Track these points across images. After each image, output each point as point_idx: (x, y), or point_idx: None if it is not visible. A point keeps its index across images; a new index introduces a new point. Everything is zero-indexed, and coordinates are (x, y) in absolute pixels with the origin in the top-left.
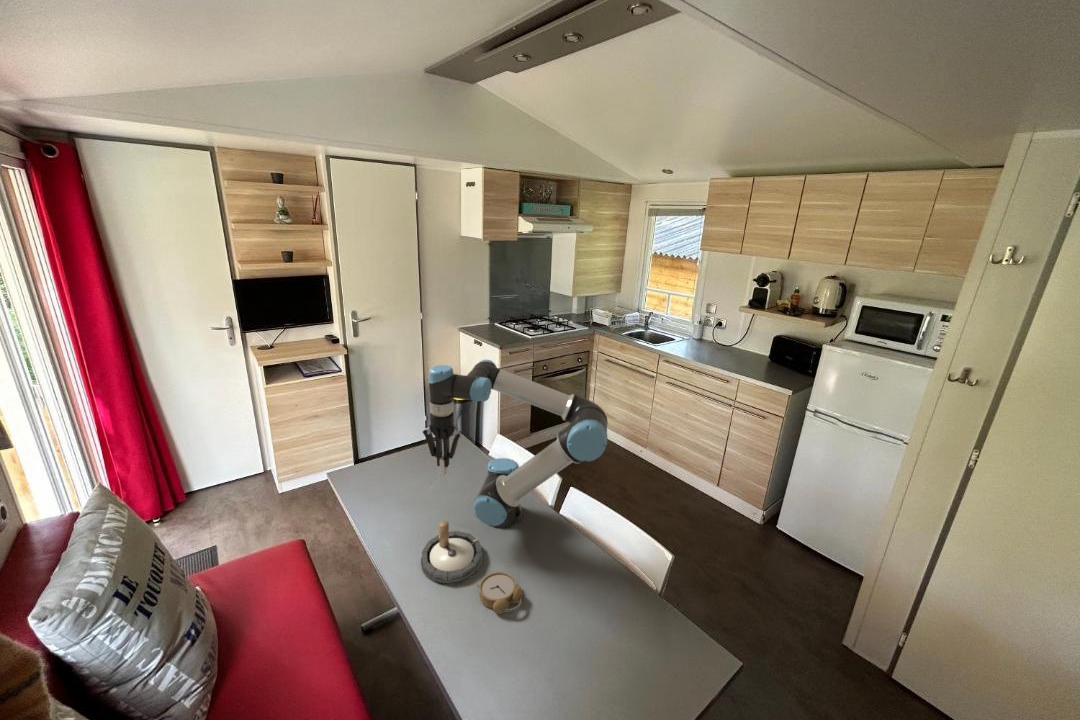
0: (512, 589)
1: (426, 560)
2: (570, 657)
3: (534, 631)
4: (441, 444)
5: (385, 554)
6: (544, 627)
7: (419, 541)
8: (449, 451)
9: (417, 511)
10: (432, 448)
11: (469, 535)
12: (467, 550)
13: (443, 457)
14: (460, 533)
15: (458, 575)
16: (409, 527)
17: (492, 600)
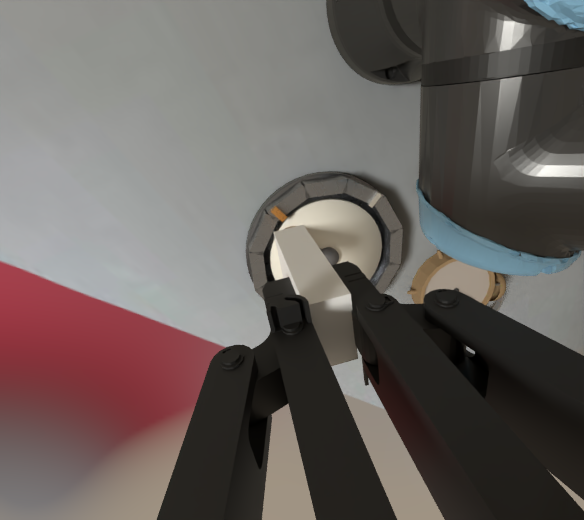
0: (487, 286)
1: None
2: (563, 324)
3: (514, 314)
4: (366, 459)
5: (156, 304)
6: (529, 302)
7: (205, 232)
8: (418, 326)
9: (94, 113)
10: (261, 512)
11: (349, 186)
12: (360, 231)
13: (335, 330)
14: (320, 189)
15: None
16: (134, 197)
17: None
